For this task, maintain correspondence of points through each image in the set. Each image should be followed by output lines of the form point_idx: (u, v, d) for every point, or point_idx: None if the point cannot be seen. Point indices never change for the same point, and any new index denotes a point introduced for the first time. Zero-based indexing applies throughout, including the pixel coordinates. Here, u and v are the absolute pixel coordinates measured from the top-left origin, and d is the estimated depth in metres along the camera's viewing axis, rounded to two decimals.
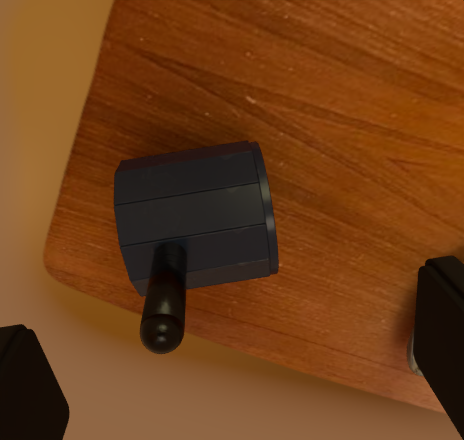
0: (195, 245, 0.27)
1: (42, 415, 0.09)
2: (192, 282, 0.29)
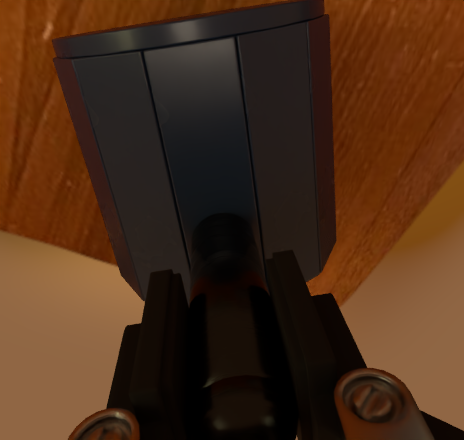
0: (198, 198, 0.14)
1: None
2: (295, 195, 0.15)
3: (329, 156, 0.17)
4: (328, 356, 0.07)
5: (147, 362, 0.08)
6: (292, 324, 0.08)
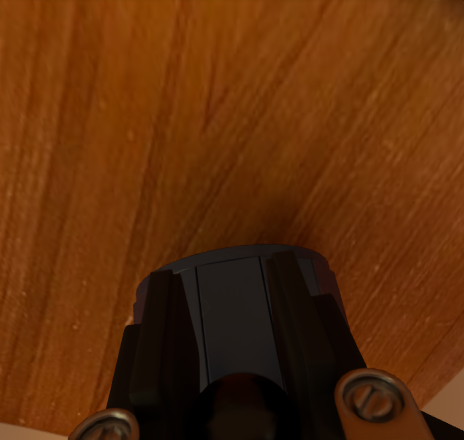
0: None
1: (191, 349, 0.10)
2: None
3: None
4: (329, 356, 0.07)
5: (147, 362, 0.08)
6: (292, 324, 0.08)
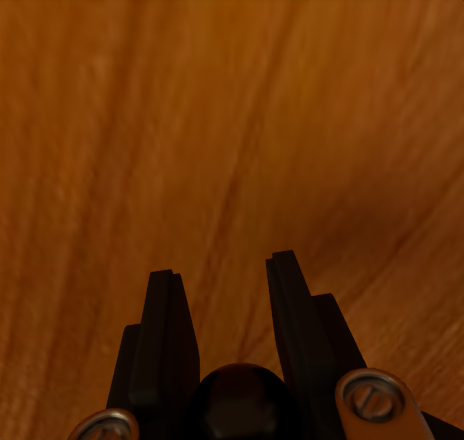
0: None
1: (191, 349, 0.10)
2: None
3: None
4: (329, 355, 0.07)
5: (147, 362, 0.08)
6: (292, 324, 0.08)
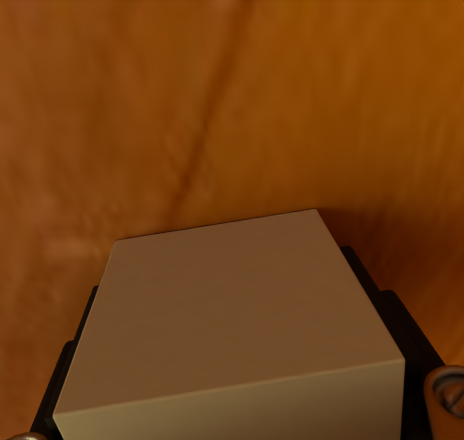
0: None
1: None
2: None
3: None
4: (413, 352, 0.07)
5: None
6: None
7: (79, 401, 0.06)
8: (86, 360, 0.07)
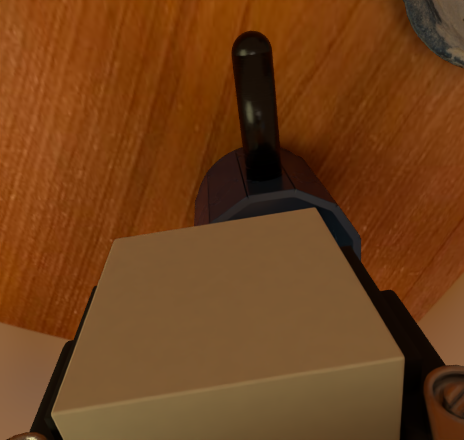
0: None
1: None
2: (306, 175, 0.27)
3: None
4: (413, 352, 0.07)
5: None
6: None
7: (77, 398, 0.06)
8: (85, 358, 0.07)
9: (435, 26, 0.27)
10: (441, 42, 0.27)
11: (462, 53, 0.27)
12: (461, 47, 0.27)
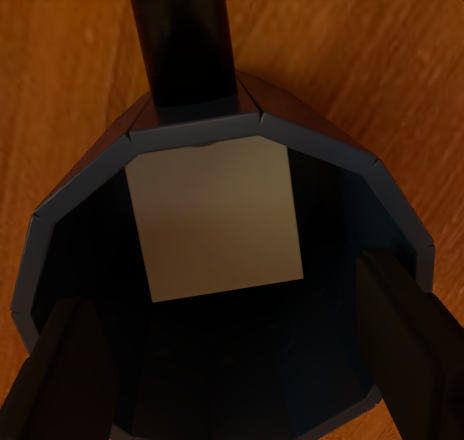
0: None
1: (101, 380, 0.10)
2: (297, 106, 0.12)
3: None
4: None
5: (18, 406, 0.07)
6: (415, 325, 0.08)
7: None
8: None
9: None
10: None
11: None
12: None
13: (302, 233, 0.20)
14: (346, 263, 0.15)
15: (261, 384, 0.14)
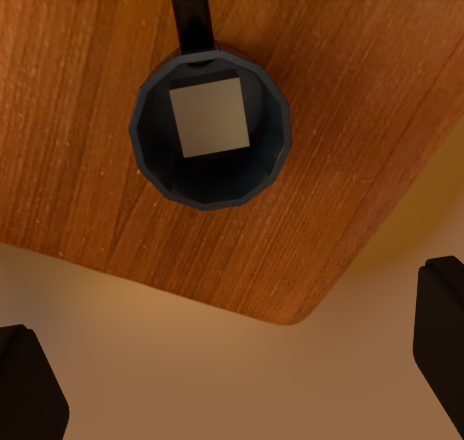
0: None
1: (42, 415, 0.09)
2: (241, 54, 0.28)
3: None
4: None
5: None
6: None
7: (173, 88, 0.29)
8: (173, 87, 0.30)
9: None
10: None
11: None
12: None
13: (255, 133, 0.36)
14: (270, 134, 0.31)
15: (228, 188, 0.30)
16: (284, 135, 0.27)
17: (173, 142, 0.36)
